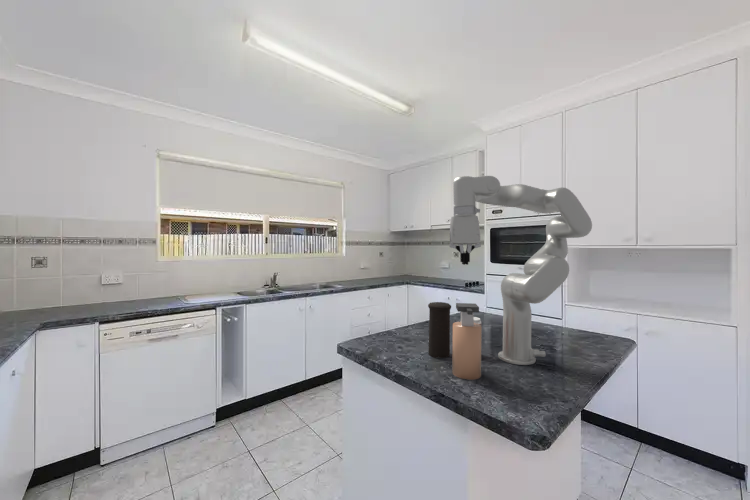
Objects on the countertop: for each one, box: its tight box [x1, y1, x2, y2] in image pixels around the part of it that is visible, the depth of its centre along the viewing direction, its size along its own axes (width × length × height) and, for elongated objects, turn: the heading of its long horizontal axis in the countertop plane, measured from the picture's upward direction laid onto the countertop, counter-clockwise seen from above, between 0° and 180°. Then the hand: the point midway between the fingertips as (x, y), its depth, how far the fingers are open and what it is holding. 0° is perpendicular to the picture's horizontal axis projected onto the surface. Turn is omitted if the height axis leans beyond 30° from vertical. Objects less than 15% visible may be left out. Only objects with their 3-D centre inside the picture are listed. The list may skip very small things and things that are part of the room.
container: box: [427, 301, 452, 359], centre depth 121 cm, size 9×9×20 cm
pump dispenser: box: [451, 312, 483, 381], centre depth 103 cm, size 9×9×20 cm
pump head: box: [455, 302, 480, 315], centre depth 101 cm, size 6×10×6 cm, turn 171°
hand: (465, 264), depth 112 cm, fingers closed
